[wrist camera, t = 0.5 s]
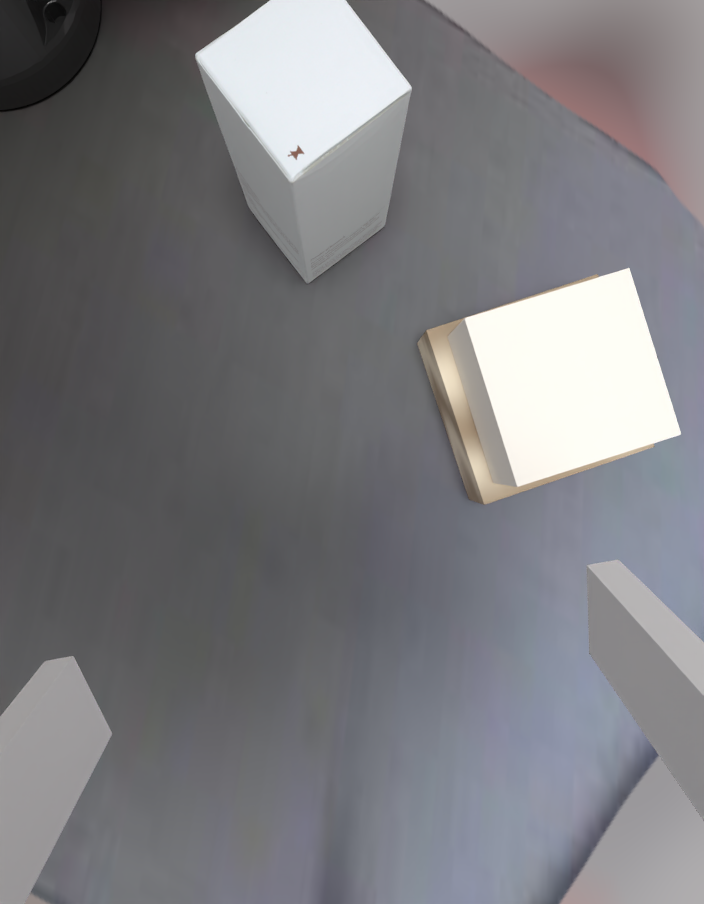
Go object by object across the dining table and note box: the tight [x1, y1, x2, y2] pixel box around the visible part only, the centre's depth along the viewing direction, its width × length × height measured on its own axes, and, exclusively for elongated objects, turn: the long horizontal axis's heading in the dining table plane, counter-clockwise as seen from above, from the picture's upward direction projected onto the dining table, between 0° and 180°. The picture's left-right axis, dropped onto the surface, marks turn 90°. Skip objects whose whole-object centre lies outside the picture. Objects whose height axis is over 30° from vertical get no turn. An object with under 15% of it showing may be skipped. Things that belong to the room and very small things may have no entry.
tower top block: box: [448, 268, 681, 487], centre depth 28 cm, size 10×10×4 cm
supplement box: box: [195, 0, 412, 283], centre depth 27 cm, size 7×7×13 cm
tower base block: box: [417, 274, 655, 505], centre depth 32 cm, size 12×12×4 cm
